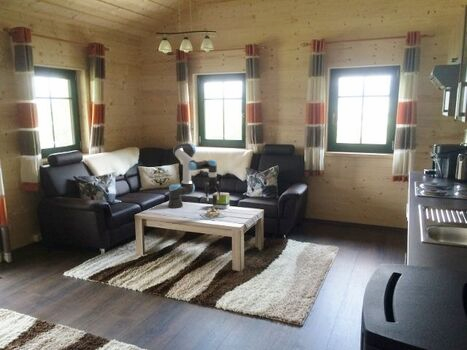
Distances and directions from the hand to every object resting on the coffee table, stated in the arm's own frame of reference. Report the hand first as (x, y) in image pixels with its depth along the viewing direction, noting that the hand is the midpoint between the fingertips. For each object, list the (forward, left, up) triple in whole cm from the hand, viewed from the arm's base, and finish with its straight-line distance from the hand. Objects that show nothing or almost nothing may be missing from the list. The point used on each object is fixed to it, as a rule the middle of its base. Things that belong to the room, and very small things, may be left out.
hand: (212, 199), depth 347 cm
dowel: (-6, +8, -16) cm, 18 cm away
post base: (0, 0, -16) cm, 16 cm away
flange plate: (-2, 0, -15) cm, 15 cm away
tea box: (-25, +18, -16) cm, 35 cm away
